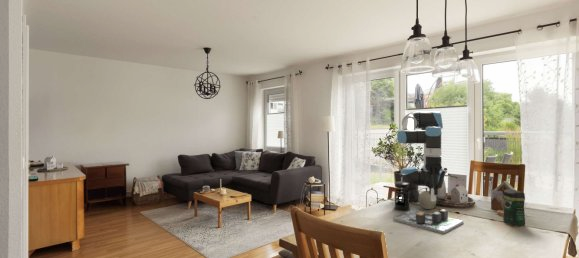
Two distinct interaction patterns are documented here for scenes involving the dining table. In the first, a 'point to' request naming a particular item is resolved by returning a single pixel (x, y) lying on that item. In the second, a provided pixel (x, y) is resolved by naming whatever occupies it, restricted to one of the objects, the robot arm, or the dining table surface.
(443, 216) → the breaker back
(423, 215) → the orange and grey switch
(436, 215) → the breaker middle
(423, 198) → the fruit
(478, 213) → the dining table surface
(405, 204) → the french press
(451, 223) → the panel
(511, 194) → the coffee jar
